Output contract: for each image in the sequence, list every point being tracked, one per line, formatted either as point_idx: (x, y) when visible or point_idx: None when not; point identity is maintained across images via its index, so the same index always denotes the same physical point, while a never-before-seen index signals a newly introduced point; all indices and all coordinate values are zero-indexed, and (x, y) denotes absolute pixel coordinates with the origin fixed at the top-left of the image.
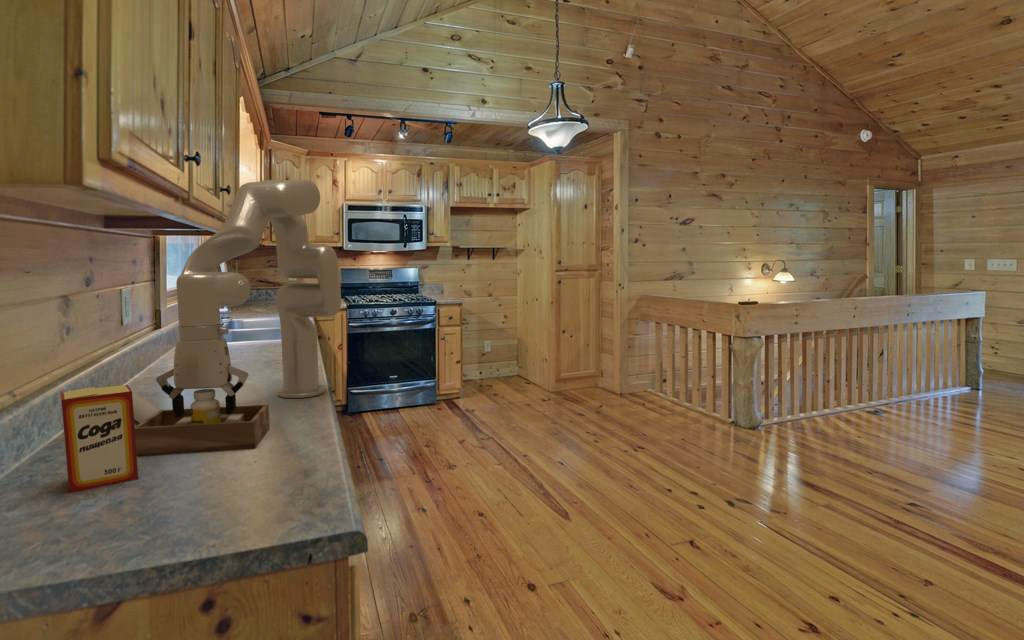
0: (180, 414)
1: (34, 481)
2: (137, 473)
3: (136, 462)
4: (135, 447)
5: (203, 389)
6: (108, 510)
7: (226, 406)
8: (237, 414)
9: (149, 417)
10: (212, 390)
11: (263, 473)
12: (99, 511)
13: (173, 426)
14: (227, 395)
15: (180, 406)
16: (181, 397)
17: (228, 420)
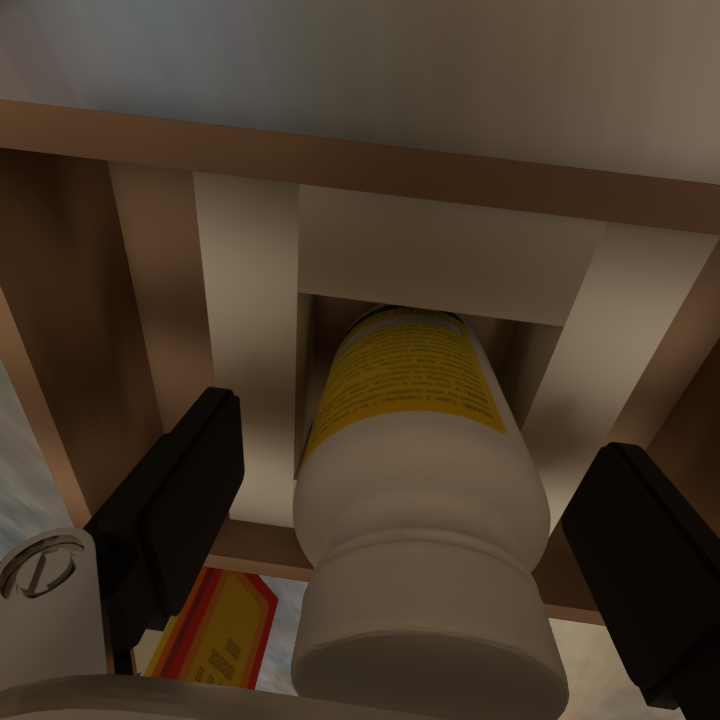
0: (239, 467)
1: (21, 540)
2: (273, 614)
3: (263, 652)
4: None
5: (398, 640)
6: (291, 685)
7: (592, 583)
8: (655, 254)
9: (4, 362)
10: (534, 706)
11: (578, 660)
12: (277, 683)
13: (276, 576)
14: (673, 690)
15: (211, 512)
16: (164, 565)
17: (553, 412)
